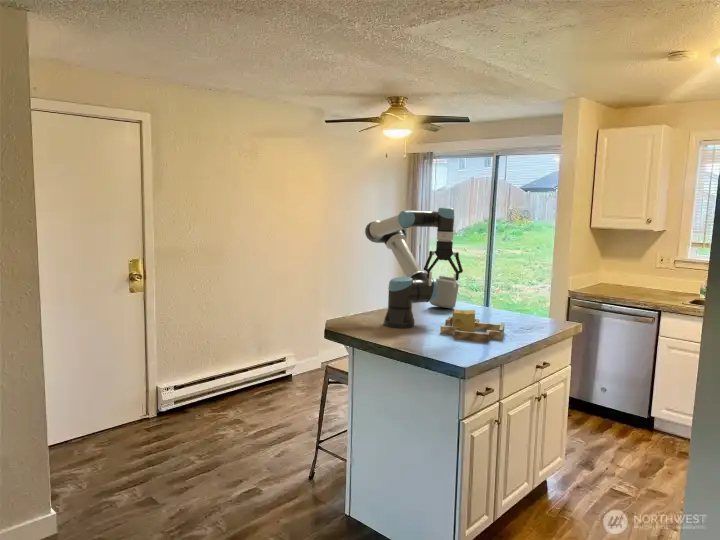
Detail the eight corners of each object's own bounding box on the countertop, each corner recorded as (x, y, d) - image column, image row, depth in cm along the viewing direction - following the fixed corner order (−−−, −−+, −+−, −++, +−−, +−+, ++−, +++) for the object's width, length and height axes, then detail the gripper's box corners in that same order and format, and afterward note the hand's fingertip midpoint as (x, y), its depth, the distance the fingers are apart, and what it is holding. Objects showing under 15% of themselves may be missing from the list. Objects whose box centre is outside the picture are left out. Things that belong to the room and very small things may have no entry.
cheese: (474, 335, 249) (475, 314, 247) (451, 333, 251) (452, 312, 250) (474, 330, 259) (475, 310, 258) (451, 328, 261) (452, 308, 260)
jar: (443, 304, 324) (445, 263, 321) (464, 308, 314) (466, 265, 310) (424, 308, 310) (426, 265, 307) (445, 312, 300) (447, 268, 297)
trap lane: (437, 337, 243) (438, 327, 242) (447, 323, 272) (448, 314, 272) (501, 343, 235) (501, 333, 234) (504, 328, 264) (505, 319, 263)
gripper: (418, 239, 253) (416, 285, 255) (469, 242, 246) (466, 289, 249) (421, 238, 260) (419, 283, 263) (470, 241, 253) (468, 287, 256)
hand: (442, 286), depth 256 cm, fingers open, 11 cm apart
